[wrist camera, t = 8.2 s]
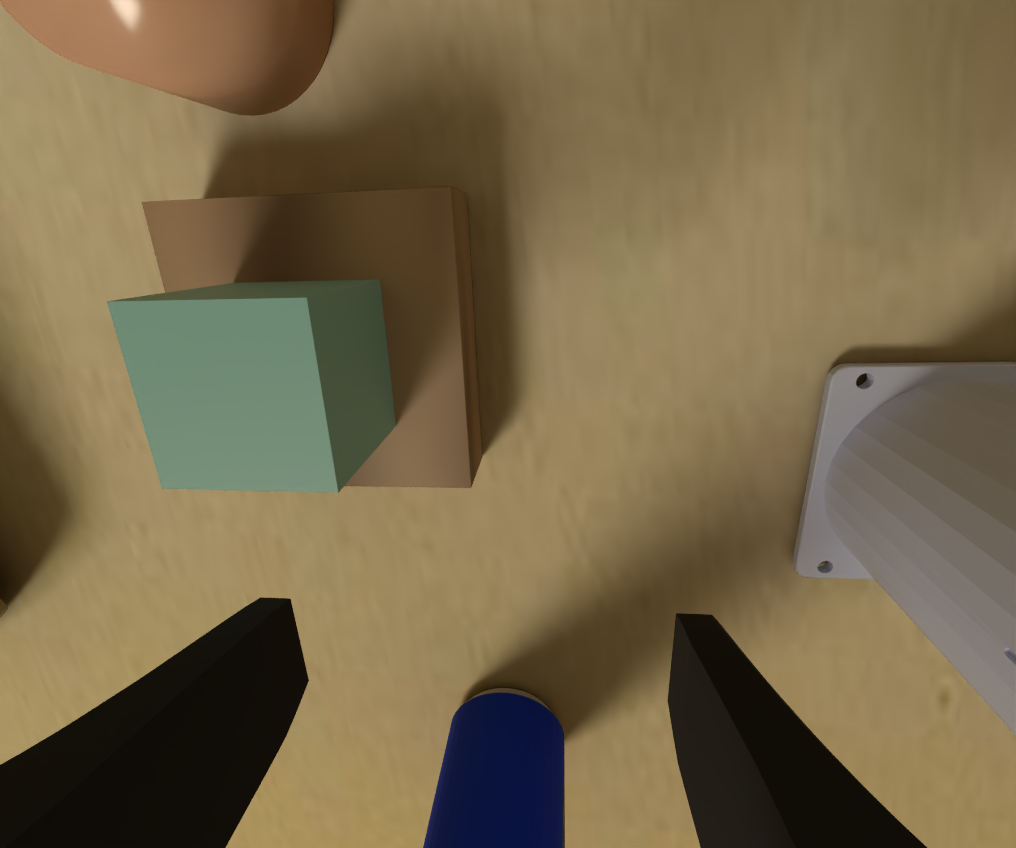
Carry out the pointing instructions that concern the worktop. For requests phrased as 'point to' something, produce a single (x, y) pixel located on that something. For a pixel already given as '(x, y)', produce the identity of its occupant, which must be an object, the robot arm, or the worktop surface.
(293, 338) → the cube
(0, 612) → the plant pot
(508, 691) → the beverage can
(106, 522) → the worktop surface
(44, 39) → the rounded knob
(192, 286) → the base
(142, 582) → the worktop surface
